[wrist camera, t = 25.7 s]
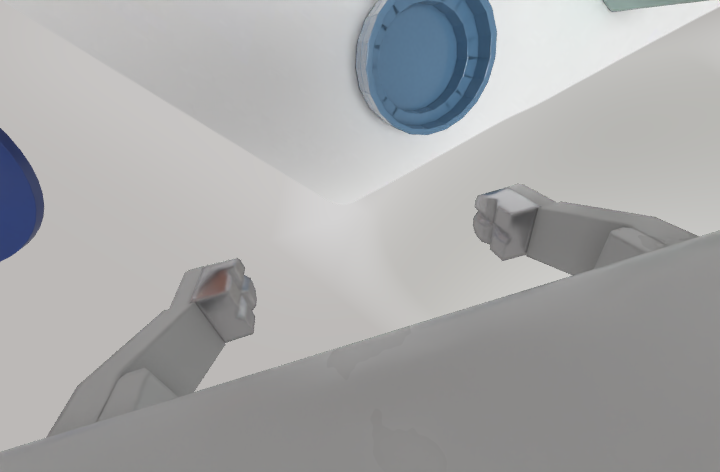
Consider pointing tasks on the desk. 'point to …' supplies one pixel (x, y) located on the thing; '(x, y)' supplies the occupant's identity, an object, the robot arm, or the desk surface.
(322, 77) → the desk surface
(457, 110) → the bowl
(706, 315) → the robot arm
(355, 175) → the desk surface
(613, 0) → the planter
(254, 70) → the desk surface
